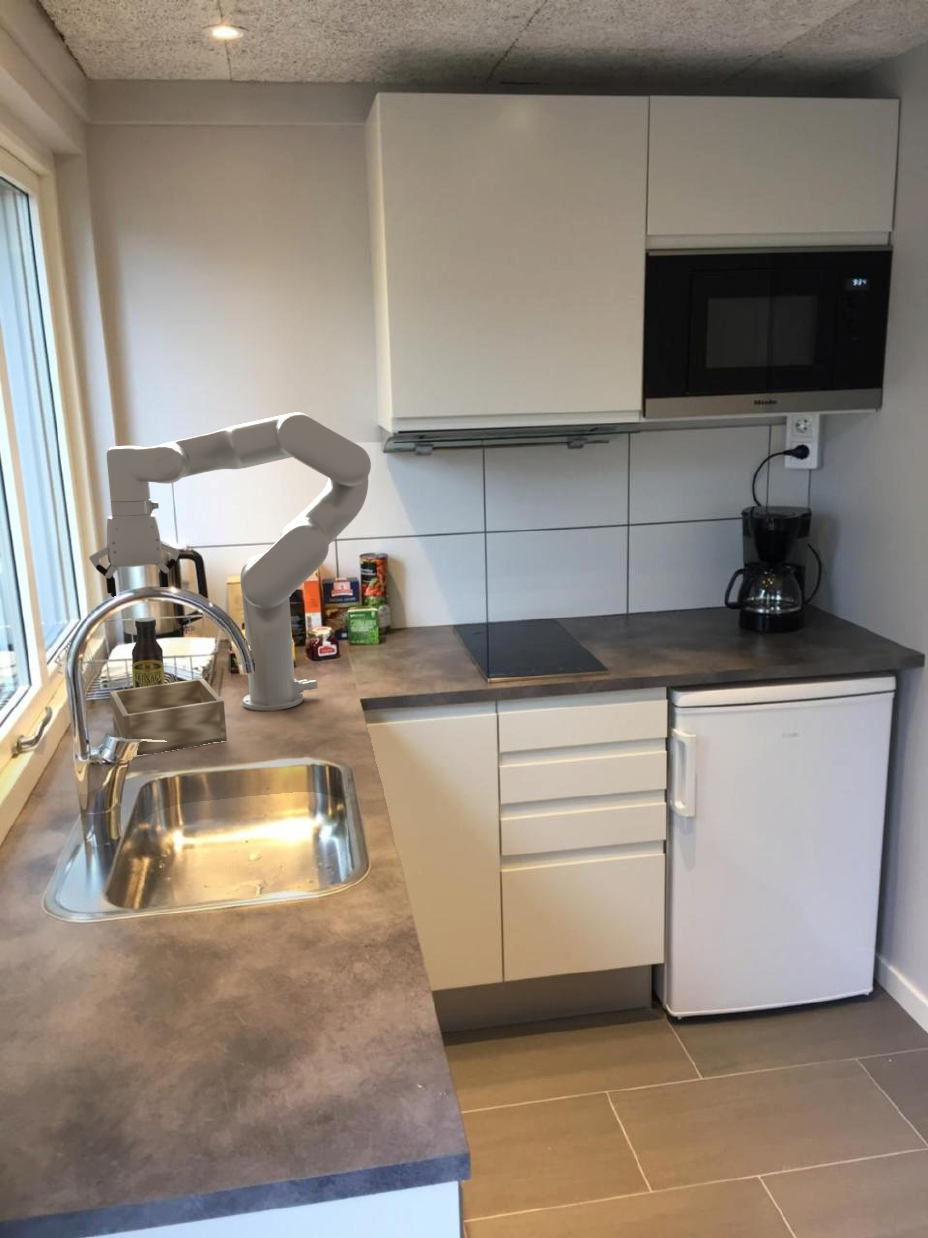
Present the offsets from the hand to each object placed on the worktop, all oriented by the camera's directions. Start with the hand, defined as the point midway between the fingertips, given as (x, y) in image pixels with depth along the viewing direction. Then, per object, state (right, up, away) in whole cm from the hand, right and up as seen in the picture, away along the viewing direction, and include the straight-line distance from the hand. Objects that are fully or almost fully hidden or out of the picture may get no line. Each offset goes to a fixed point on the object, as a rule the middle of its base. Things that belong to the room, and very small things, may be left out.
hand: (138, 594), depth 203 cm
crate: (+9, -27, -9) cm, 30 cm away
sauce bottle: (+1, -25, +6) cm, 25 cm away
